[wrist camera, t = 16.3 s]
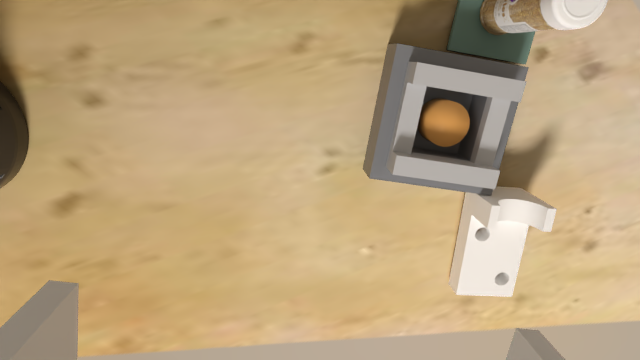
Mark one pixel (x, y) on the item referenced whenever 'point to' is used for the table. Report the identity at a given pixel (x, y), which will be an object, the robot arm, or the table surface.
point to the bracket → (495, 240)
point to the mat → (485, 36)
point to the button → (443, 122)
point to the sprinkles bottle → (538, 15)
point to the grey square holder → (452, 84)
